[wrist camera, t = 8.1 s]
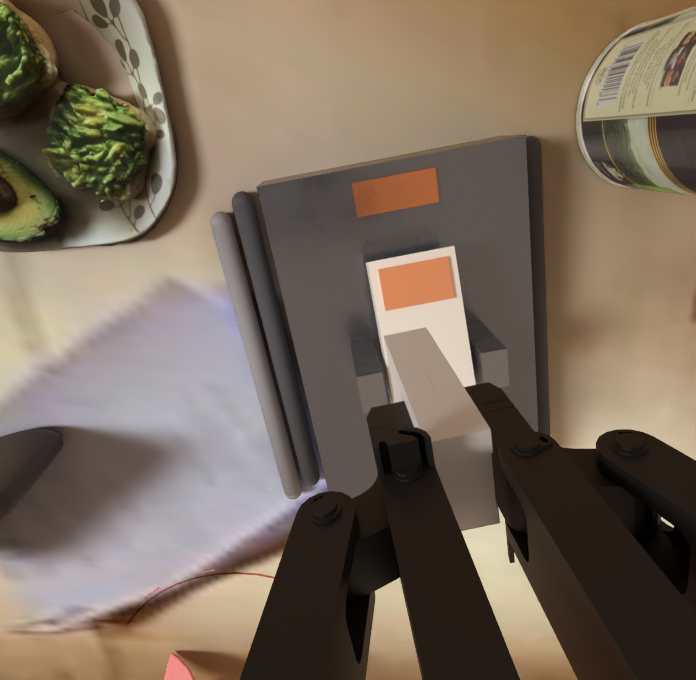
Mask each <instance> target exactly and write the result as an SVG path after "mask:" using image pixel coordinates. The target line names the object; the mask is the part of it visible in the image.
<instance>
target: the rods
mask: <svg viewBox="0 0 696 680" xmlns="http://www.w3.org/2000/svg"><path fill="white" fill-rule="evenodd" d="M526 150H527V174H528V197H529V221H530V245H531V269H532V292H533V316H534V340H535V363H536V387H537V411H538V432H541V433H543V434H546V435H549V436H550V416H549V385H548V353H547V322H546V291H545V260H544V229H543V198H542V166H541V144H540V141H539V140H538V139H537V138H536V137H534V136H528V137H526ZM232 206H233V210H234V214H235V218H236V222H237V226H238V230H239V233H240V237H241V241H242V245H243V249H244V253H245V257H246V261H247V265H248V269H249V272H250V276H251V280H252V284H253V288H254V292H255V296H256V300H257V304H258V307H259V311H260V315H261V319H262V323H263V327H264V331H265V335H266V339H267V342H268V346H269V350H270V354H271V358H272V362H273V366H274V370H275V374H276V377H277V381H278V385H279V389H280V393H281V397H282V401H283V405H284V409H285V413H286V416H287V420H288V424H289V428H290V432H291V436H292V440H293V444H294V448H295V451H296V455H297V459H298V463H299V467H300V471H301V475H302V479H303V481H304V483H305V484H307V485H315V484H316V483H317V482H318V481H319V477H320V476H319V471H318V467H317V463H316V458H315V454H314V450H313V446H312V442H311V438H310V434H309V429H308V425H307V421H306V417H305V413H304V409H303V404H302V400H301V396H300V392H299V388H298V384H297V380H296V375H295V371H294V367H293V363H292V359H291V355H290V350H289V346H288V342H287V338H286V334H285V330H284V326H283V321H282V317H281V313H280V309H279V305H278V301H277V297H276V292H275V288H274V284H273V280H272V276H271V272H270V267H269V263H268V259H267V255H266V251H265V247H264V243H263V238H262V234H261V230H260V226H259V222H258V218H257V213H256V209H255V205H254V201H253V198H252V196H251V195H250V194H249V193H247V192H243V191H241V192H238V193H236V194H235V195H234V196H233V198H232ZM210 224H211V228H212V232H213V235H214V239H215V242H216V246H217V250H218V253H219V257H220V261H221V264H222V268H223V271H224V275H225V279H226V282H227V286H228V289H229V293H230V297H231V300H232V304H233V308H234V311H235V315H236V318H237V322H238V326H239V329H240V333H241V336H242V340H243V344H244V347H245V351H246V355H247V358H248V362H249V365H250V369H251V373H252V376H253V380H254V383H255V387H256V391H257V394H258V398H259V402H260V405H261V409H262V412H263V416H264V420H265V423H266V427H267V430H268V434H269V438H270V441H271V445H272V449H273V452H274V456H275V459H276V463H277V467H278V470H279V474H280V477H281V481H282V485H283V488H284V492H285V495H286V496H287V497H288V498H289V499H296V498H298V497H299V496H300V495H301V491H302V489H301V485H300V481H299V477H298V473H297V469H296V465H295V462H294V458H293V454H292V450H291V446H290V442H289V438H288V435H287V431H286V427H285V423H284V419H283V415H282V412H281V408H280V404H279V400H278V396H277V392H276V389H275V385H274V381H273V377H272V373H271V369H270V365H269V362H268V358H267V354H266V350H265V346H264V342H263V339H262V335H261V331H260V327H259V323H258V319H257V315H256V312H255V308H254V304H253V300H252V296H251V292H250V289H249V285H248V281H247V277H246V273H245V269H244V266H243V262H242V258H241V254H240V250H239V246H238V242H237V239H236V235H235V231H234V227H233V223H232V220H231V218H230V216H229V215H228V214H226V213H224V212H217V213H215V214H214V215H213V216H212V217H211V220H210Z"/></svg>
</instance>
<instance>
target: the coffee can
mask: <svg viewBox="0 0 696 680" xmlns="http://www.w3.org/2000/svg"><path fill="white" fill-rule="evenodd" d="M576 131H577V139H578V143H579V147H580V150H581V152H582V154H583V156H584V158H585V160H586V162H587V163H588V165H589V166H590V167H591V169H592V170H593V171H594V172H595V173H596V174H597V175H598V176H599V177H601V178H602V179H604V180H605V181H607V182H609V183H611V184H613V185H616V186H619V187H624V188H631V189H647V190H655V191H662V192H669V193H676V194H683V195H691V196H696V6H693V7H690V8H687V9H684V10H682V11H679V12H676V13H673V14H670V15H668V16H665V17H662V18H657V19H653V20H650V21H646V22H643V23H640V24H638V25H636V26H634V27H632V28H630V29H629V30H627V31H625V32H624V33H622V34H621V35H620V36H618V37H617V38H616V39H615V40H614V41H612V42H611V43H610V44H609V45H608V46H607V47H606V48H605V50H604V51H603V52H602V53H601V54H600V55H599V57H598V58H597V60H596V61H595V63H594V64H593V66H592V68H591V69H590V71H589V73H588V75H587V77H586V79H585V81H584V83H583V86H582V89H581V92H580V95H579V99H578V104H577V111H576Z"/></svg>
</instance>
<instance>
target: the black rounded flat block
mask: <svg viewBox="0 0 696 680" xmlns="http://www.w3.org/2000/svg"><path fill="white" fill-rule="evenodd" d="M62 447H63V438H62V436H61V435H60V434H59V433H57V432H55V431H52V430H47V429H33V430H26V431H21V432H16V433H12V434H9V435H5V436H2V437H0V522H1V521H2V520H3V519H4V518H5V517H6V516H7V515H8V514H9V513H10V512H11V511H12V510H13V508H14V507H15V506H16V505H17V504H18V502H19V501H20V500H21V499H22V497H23V496H24V495H25V494H26V492H27V491H28V490H29V489H30V487H31V486H32V485H33V484H34V483H35V481H36V480H37V479H38V478H39V476H40V475H41V474H42V473H43V471H44V470H45V469H46V468H47V466H48V465H49V464H50V463H51V462H52V460H53V459H54V458H55V457H56V455H57V454H58V453H59V452H60V450H61V449H62Z"/></svg>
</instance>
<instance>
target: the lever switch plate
mask: <svg viewBox="0 0 696 680" xmlns="http://www.w3.org/2000/svg"><path fill="white" fill-rule="evenodd" d="M257 191H258V195H259V199H260V204H261V208H262V212H263V216H264V221H265V225H266V229H267V233H268V238H269V242H270V246H271V250H272V255H273V259H274V263H275V267H276V271H277V276H278V280H279V284H280V288H281V293H282V297H283V301H284V305H285V310H286V314H287V318H288V322H289V326H290V331H291V335H292V339H293V343H294V348H295V352H296V356H297V360H298V365H299V369H300V373H301V377H302V382H303V386H304V390H305V394H306V398H307V403H308V407H309V411H310V415H311V420H312V424H313V428H314V432H315V437H316V441H317V445H318V449H319V453H320V458H321V462H322V466H323V470H324V475H325V479H326V483H327V487H328V492H329V491H335V492H342V493H344V494H346V495H348V496H350V497H351V499H352V498H354V497H356V496H358V495H360V494H362V493H364V492H365V491H367V490H368V489H369V488H370V487H371V486H372V485H373V484H374V482H375V481H376V478H377V475H378V472H377V467H376V463H375V458H374V453H373V448H372V443H371V438H370V434H369V429H368V424H367V419H366V418H367V416H368V414H369V411H370V409H371V408H372V407H377V406H382V405H387V404H391V400H390V394H389V389H388V383H387V378H386V372H385V367H384V361H383V356H382V350H381V345H380V339H379V334H378V328H377V323H376V317H375V312H374V306H373V301H372V295H371V290H370V284H369V279H368V273H367V268H366V262H371V261H376V260H381V259H387V258H392V257H397V256H402V255H407V254H413V253H418V252H423V251H428V250H434V249H439V248H444V247H450V246H454V247H455V254H456V260H457V267H458V273H459V280H460V286H461V293H462V299H463V306H464V312H465V318H466V325H467V331H468V338H469V344H470V351H471V357H472V364H473V370H474V377H475V383H476V385H477V384H482V383H486V382H489V383H491V384H493V385H495V386H497V387H499V388H501V389H502V390H503V391H504V393H505V394H506V395H507V397H508V398H509V400H511V402H512V403H513V404H514V406H515V408H517V409H518V411H519V412H520V413H521V415H522V416H523V417H524V418H525V420H526V421H527V422H528V424H529V425H530V426H531V428H532V429H533V430H534V431H535V432H538V411H537V387H536V363H535V340H534V316H533V292H532V269H531V245H530V221H529V197H528V174H527V150H526V135H515V136H499V137H493V138H488V139H483V140H478V141H472V142H467V143H462V144H457V145H452V146H446V147H441V148H436V149H431V150H426V151H420V152H415V153H410V154H405V155H399V156H394V157H389V158H384V159H379V160H373V161H368V162H363V163H358V164H352V165H347V166H342V167H337V168H332V169H326V170H321V171H316V172H311V173H306V174H300V175H295V176H290V177H285V178H279V179H274V180H269V181H264V182H262V183H261V184H259V185H258V186H257Z"/></svg>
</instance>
